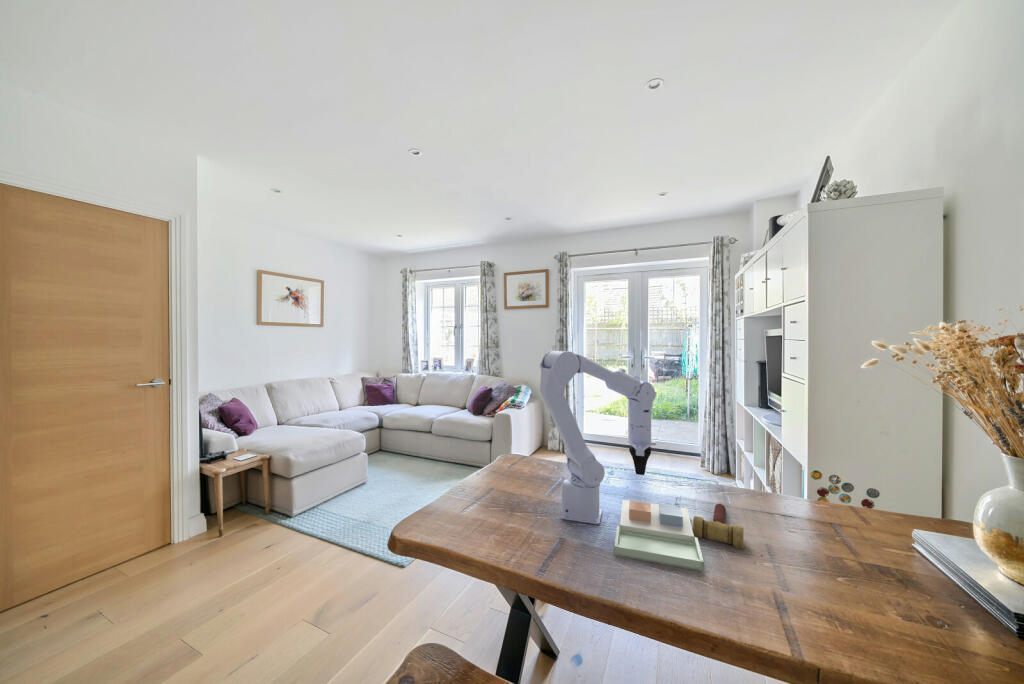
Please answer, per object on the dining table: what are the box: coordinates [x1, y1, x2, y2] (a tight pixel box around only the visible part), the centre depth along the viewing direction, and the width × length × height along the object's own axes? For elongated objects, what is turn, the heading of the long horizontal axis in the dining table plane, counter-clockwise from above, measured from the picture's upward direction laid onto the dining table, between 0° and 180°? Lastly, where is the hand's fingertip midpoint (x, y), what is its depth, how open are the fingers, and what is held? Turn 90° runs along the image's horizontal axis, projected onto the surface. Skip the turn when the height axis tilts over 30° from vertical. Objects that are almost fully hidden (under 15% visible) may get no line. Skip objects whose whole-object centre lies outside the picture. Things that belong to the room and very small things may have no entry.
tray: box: [614, 524, 705, 573], centre depth 81 cm, size 17×9×2 cm, turn 71°
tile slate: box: [658, 503, 683, 527], centre depth 90 cm, size 5×5×2 cm
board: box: [619, 499, 694, 542], centre depth 92 cm, size 16×14×2 cm
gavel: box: [692, 503, 744, 550], centre depth 92 cm, size 21×5×10 cm
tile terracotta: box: [629, 500, 651, 522], centre depth 92 cm, size 5×5×2 cm
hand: (640, 473), depth 102 cm, fingers closed
